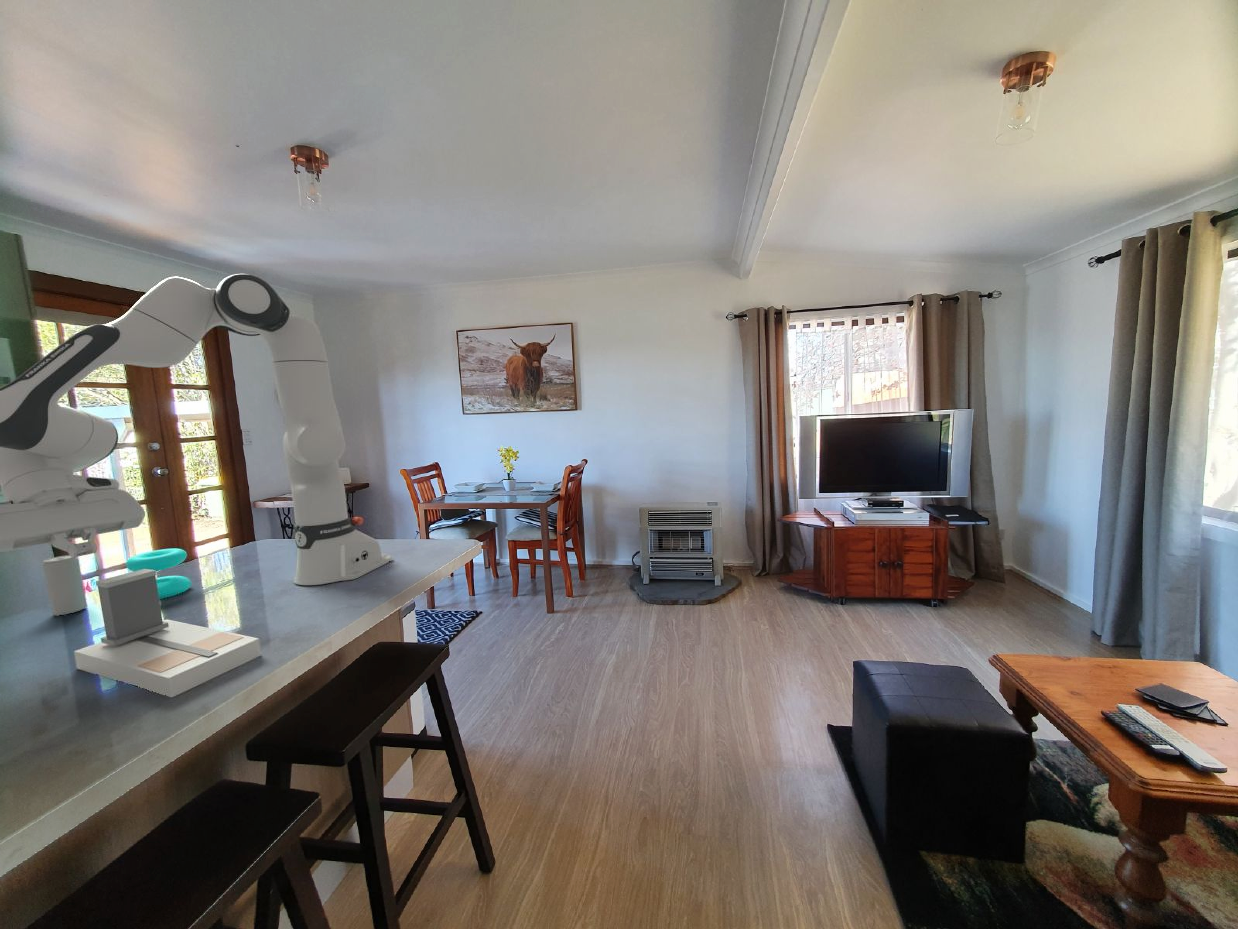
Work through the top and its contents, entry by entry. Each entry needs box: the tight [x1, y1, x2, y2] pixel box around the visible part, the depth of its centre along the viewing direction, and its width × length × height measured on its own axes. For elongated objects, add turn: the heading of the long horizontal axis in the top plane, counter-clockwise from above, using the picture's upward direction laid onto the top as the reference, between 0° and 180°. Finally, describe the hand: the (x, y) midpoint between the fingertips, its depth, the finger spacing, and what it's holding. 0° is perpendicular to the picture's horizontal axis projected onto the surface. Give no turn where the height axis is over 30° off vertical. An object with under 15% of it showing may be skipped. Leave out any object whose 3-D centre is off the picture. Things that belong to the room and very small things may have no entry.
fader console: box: [73, 619, 262, 699], centre depth 76 cm, size 26×12×3 cm, turn 70°
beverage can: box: [42, 554, 87, 617], centre depth 98 cm, size 5×5×12 cm
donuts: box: [125, 547, 192, 600], centre depth 107 cm, size 10×10×10 cm
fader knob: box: [95, 569, 169, 646], centre depth 78 cm, size 4×7×10 cm, turn 160°
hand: (85, 553), depth 81 cm, fingers closed
